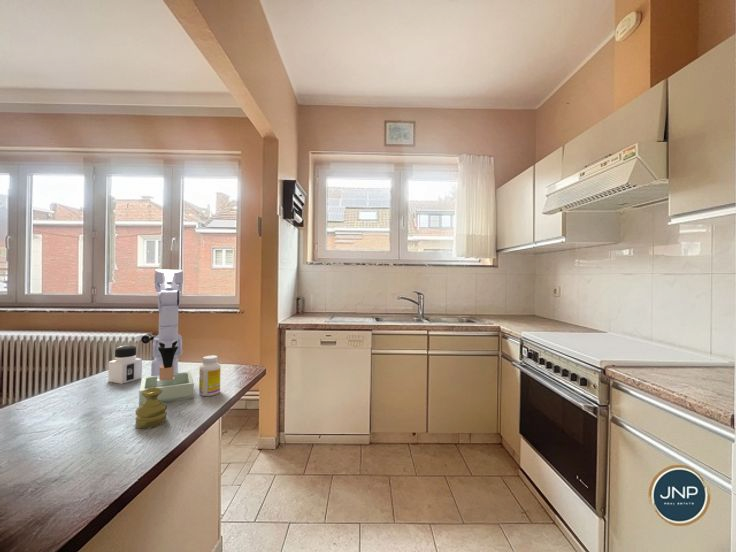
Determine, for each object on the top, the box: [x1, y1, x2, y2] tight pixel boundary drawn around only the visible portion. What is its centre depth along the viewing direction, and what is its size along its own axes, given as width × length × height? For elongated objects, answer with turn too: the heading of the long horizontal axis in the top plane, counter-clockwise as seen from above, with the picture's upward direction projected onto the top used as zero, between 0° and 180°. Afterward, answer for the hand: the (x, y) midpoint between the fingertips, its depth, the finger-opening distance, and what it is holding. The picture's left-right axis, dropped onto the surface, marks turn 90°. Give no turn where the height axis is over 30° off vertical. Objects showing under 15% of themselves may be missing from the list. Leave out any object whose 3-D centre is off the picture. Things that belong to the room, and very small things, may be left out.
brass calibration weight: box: [135, 387, 168, 429], centre depth 92 cm, size 7×7×10 cm
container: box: [107, 344, 143, 385], centre depth 127 cm, size 8×8×13 cm
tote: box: [138, 371, 195, 407], centre depth 113 cm, size 15×15×5 cm
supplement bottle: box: [198, 354, 221, 397], centre depth 115 cm, size 7×7×13 cm
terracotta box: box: [159, 364, 174, 380], centre depth 113 cm, size 4×4×4 cm
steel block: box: [157, 375, 175, 387], centre depth 113 cm, size 5×5×5 cm
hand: (167, 364), depth 113 cm, fingers open, 7 cm apart
